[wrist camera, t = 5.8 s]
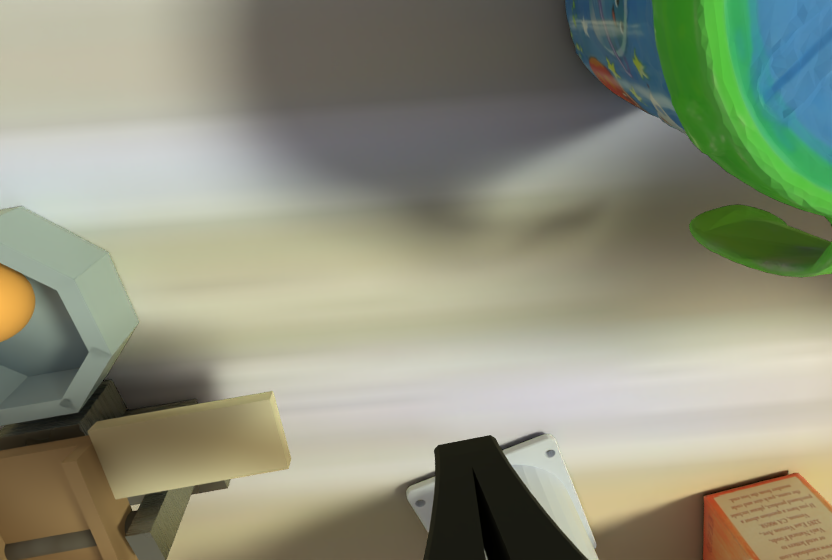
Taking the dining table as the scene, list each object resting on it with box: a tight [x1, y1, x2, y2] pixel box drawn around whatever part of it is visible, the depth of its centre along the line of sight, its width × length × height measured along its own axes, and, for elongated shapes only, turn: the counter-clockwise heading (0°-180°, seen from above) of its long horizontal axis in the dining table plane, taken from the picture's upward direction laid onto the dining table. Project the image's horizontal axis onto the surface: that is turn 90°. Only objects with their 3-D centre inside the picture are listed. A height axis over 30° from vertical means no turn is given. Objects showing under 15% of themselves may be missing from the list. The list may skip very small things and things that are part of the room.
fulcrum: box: [0, 380, 230, 560], centre depth 20 cm, size 7×9×5 cm
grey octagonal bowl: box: [0, 206, 139, 426], centre depth 18 cm, size 7×7×2 cm
